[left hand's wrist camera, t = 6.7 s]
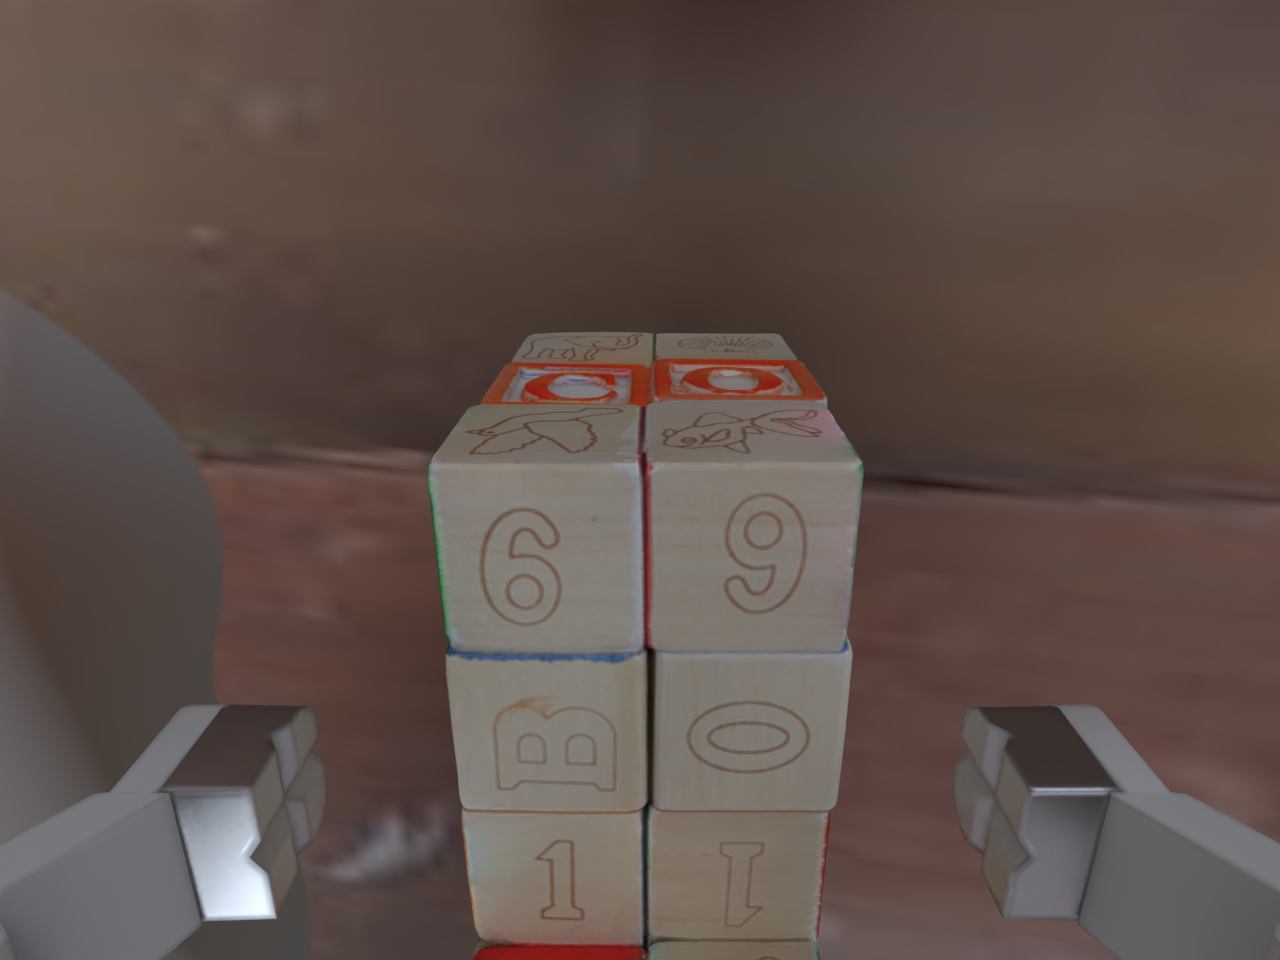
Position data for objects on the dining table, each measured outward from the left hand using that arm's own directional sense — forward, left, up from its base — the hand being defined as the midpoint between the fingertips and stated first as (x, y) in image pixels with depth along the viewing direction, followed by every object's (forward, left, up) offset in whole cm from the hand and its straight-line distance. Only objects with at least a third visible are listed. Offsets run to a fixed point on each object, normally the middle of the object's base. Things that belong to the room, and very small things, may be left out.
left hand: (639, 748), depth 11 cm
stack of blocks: (+6, +4, -11) cm, 14 cm away
